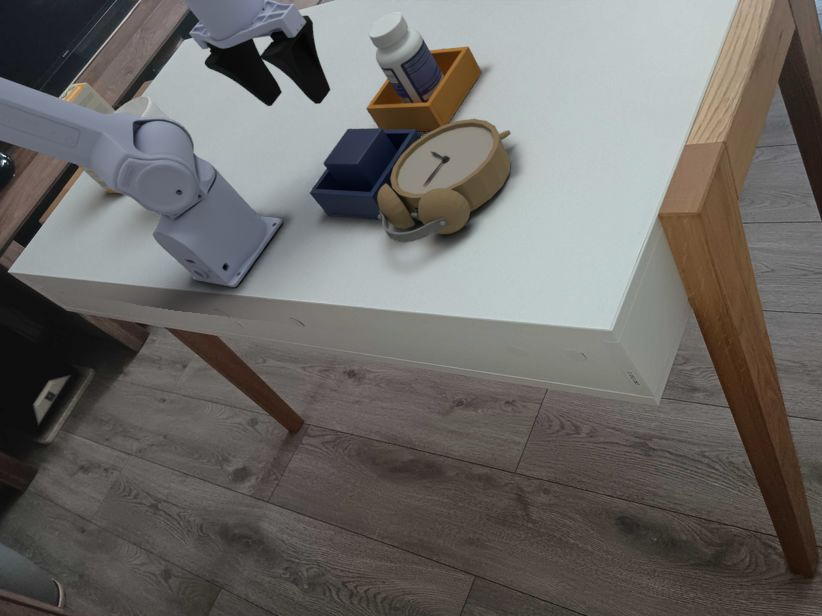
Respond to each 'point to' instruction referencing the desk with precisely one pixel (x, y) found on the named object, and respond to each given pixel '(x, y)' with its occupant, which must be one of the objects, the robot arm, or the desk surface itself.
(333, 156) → the navy block
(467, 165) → the alarm clock
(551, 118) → the desk surface
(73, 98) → the supplement box
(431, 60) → the pill bottle
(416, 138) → the navy bin
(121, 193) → the robot arm
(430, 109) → the amber bin
